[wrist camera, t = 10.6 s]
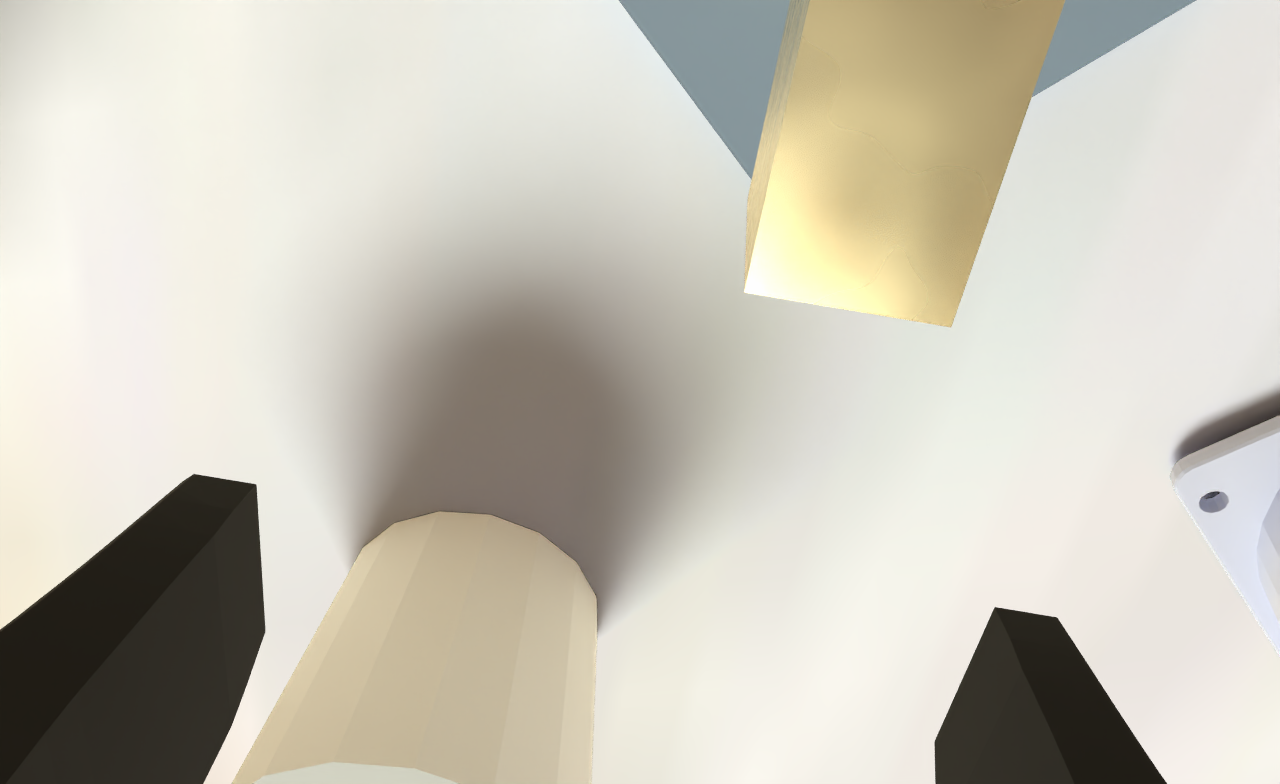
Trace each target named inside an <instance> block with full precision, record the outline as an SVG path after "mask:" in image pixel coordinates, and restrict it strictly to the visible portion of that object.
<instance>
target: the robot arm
mask: <svg viewBox="0 0 1280 784" xmlns="http://www.w3.org/2000/svg"><path fill="white" fill-rule="evenodd" d="M1170 479H1171V483H1172V486H1173V488H1174V490H1175V493H1176V495H1177V496H1178V498H1179V499H1180V501H1181V503H1182V504H1183V506H1184V507H1185V509H1186V510H1187V512H1188V514H1189V515H1190V517H1191V518H1192V520H1193V521H1194V523H1195V525H1196V526H1197V528H1198V529H1199V531H1200V532H1201V534H1202V536H1203V537H1204V539H1205V540H1206V542H1207V543H1208V545H1209V547H1210V548H1211V550H1212V551H1213V553H1214V554H1215V556H1216V558H1217V559H1218V561H1219V562H1220V564H1221V565H1222V567H1223V569H1224V570H1225V572H1226V573H1227V575H1228V576H1229V578H1230V580H1231V581H1232V583H1233V584H1234V586H1235V587H1236V589H1237V590H1238V592H1239V594H1240V595H1241V597H1242V598H1243V600H1244V601H1245V603H1246V605H1247V606H1248V608H1249V609H1250V611H1251V612H1252V614H1253V616H1254V617H1255V619H1256V620H1257V622H1258V623H1259V625H1260V627H1261V628H1262V630H1263V631H1264V633H1265V634H1266V636H1267V638H1268V639H1269V641H1270V642H1271V644H1272V645H1273V647H1274V649H1275V650H1276V652H1277V653H1278V655H1279V656H1280V415H1278V416H1276V417H1274V418H1272V419H1269V420H1267V421H1265V422H1262V423H1260V424H1258V425H1256V426H1253V427H1251V428H1249V429H1246V430H1244V431H1242V432H1239V433H1237V434H1235V435H1233V436H1230V437H1228V438H1226V439H1223V440H1221V441H1219V442H1217V443H1214V444H1212V445H1210V446H1207V447H1205V448H1203V449H1200V450H1198V451H1196V452H1194V453H1191V454H1189V455H1187V456H1185V457H1184V458H1182V459H1180V460H1179V461H1177V463H1176V464H1175V465H1174V466H1173V468H1172V469H1171V473H1170ZM1214 491H1219V492H1220V493H1219V494H1218V495H1216V496H1215V497H1213V498H1209V499H1201V498H1202V497H1203V496H1204V495H1206V494H1207V493H1210V492H1214ZM264 634H265V617H264V601H263V584H262V568H261V552H260V536H259V519H258V503H257V487H256V484H251V483H244V482H238V481H232V480H226V479H220V478H214V477H208V476H202V475H196V474H193V475H192V476H190V477H189V478H187V479H186V480H184V481H183V482H182V483H180V484H179V485H178V486H177V487H176V488H174V489H173V490H172V491H171V492H170V493H168V494H167V495H166V496H165V497H164V498H162V499H161V500H160V501H159V502H158V503H156V504H155V505H154V506H153V507H152V508H151V509H149V510H148V511H147V512H146V513H145V514H143V515H142V516H141V517H140V518H139V519H138V520H136V521H135V522H134V523H133V524H132V525H130V526H129V527H128V528H127V529H126V530H124V531H123V532H122V533H121V534H120V535H118V536H117V537H116V538H115V539H114V540H113V541H111V542H110V543H109V544H108V545H106V546H105V547H104V548H103V549H102V550H100V551H99V552H98V553H97V554H96V555H94V556H93V557H92V558H91V559H89V560H88V561H87V562H86V563H85V564H83V565H82V566H81V567H80V568H78V569H77V570H76V571H75V572H73V573H72V574H71V575H70V576H68V577H67V578H66V579H65V580H63V581H62V582H61V583H59V584H58V585H57V586H56V587H54V588H53V589H52V590H51V591H49V592H48V593H47V594H46V595H44V596H43V597H42V598H40V599H39V600H38V601H37V602H35V603H34V604H33V605H32V606H30V607H29V608H28V609H26V610H25V611H24V612H23V613H21V614H20V615H19V616H18V617H16V618H15V619H14V620H12V621H11V622H10V623H8V624H7V625H6V626H4V627H3V628H2V629H1V630H0V784H203V783H204V781H205V779H206V777H207V775H208V773H209V771H210V769H211V767H212V765H213V763H214V761H215V759H216V757H217V755H218V753H219V751H220V749H221V747H222V745H223V743H224V740H225V738H226V736H227V734H228V732H229V730H230V728H231V726H232V723H233V721H234V718H235V715H236V713H237V710H238V707H239V704H240V702H241V699H242V696H243V694H244V691H245V688H246V686H247V683H248V680H249V677H250V674H251V671H252V668H253V666H254V663H255V660H256V657H257V654H258V651H259V648H260V645H261V642H262V640H263V637H264ZM935 780H936V784H1167V783H1166V782H1165V780H1164V779H1163V777H1162V776H1161V774H1160V773H1159V772H1158V770H1157V769H1156V767H1155V766H1154V764H1153V763H1152V761H1151V760H1150V758H1149V757H1148V755H1147V754H1146V752H1145V751H1144V749H1143V748H1142V746H1141V745H1140V743H1139V742H1138V740H1137V739H1136V737H1135V736H1134V734H1133V733H1132V731H1131V730H1130V728H1129V727H1128V725H1127V724H1126V722H1125V721H1124V719H1123V718H1122V716H1121V715H1120V713H1119V712H1118V710H1117V709H1116V707H1115V705H1114V704H1113V702H1112V701H1111V699H1110V698H1109V696H1108V695H1107V693H1106V692H1105V690H1104V689H1103V687H1102V685H1101V684H1100V682H1099V681H1098V679H1097V678H1096V676H1095V675H1094V673H1093V672H1092V670H1091V668H1090V667H1089V665H1088V664H1087V662H1086V661H1085V659H1084V658H1083V656H1082V655H1081V653H1080V652H1079V650H1078V649H1077V647H1076V645H1075V644H1074V642H1073V641H1072V639H1071V638H1070V636H1069V635H1068V633H1067V632H1066V630H1065V629H1064V627H1063V626H1062V624H1061V623H1060V621H1059V620H1058V618H1057V617H1051V616H1045V615H1039V614H1033V613H1027V612H1021V611H1015V610H1009V609H1003V608H997V607H995V608H994V610H993V612H992V615H991V617H990V619H989V621H988V624H987V626H986V628H985V630H984V632H983V635H982V637H981V639H980V641H979V644H978V646H977V648H976V650H975V653H974V655H973V657H972V659H971V662H970V664H969V666H968V668H967V670H966V673H965V675H964V677H963V679H962V682H961V684H960V686H959V688H958V691H957V693H956V695H955V697H954V699H953V702H952V704H951V706H950V708H949V711H948V713H947V715H946V717H945V720H944V722H943V724H942V726H941V729H940V731H939V733H938V735H937V737H936V740H935Z"/></svg>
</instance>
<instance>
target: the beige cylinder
mask: <svg viewBox="0 0 1280 784" xmlns="http://www.w3.org/2000/svg"><path fill="white" fill-rule="evenodd" d="M596 653H597V597H596V595H595V594H594V592H593V590H592V588H591V587H590V585H589V583H588V581H587V580H586V578H585V576H584V574H583V573H582V571H581V569H580V567H579V566H578V564H577V562H576V561H574V560H573V559H572V558H571V557H569V556H568V555H567V554H566V553H564V552H563V551H562V550H560V549H559V548H558V547H557V546H555V545H554V544H553V543H552V542H550V541H549V540H548V539H546V538H545V537H544V536H543V535H541V534H540V533H538V532H536V531H533V530H530V529H528V528H525V527H522V526H520V525H517V524H514V523H512V522H509V521H506V520H504V519H501V518H498V517H495V516H493V515H488V514H473V513H457V512H442V511H438V512H434V513H431V514H427V515H423V516H419V517H415V518H412V519H408V520H404V521H400V522H396V523H393V524H392V525H391V526H390V527H388V528H387V529H386V530H385V531H383V532H382V533H381V534H380V535H378V536H377V537H376V538H374V539H373V540H372V541H371V542H369V543H368V544H367V545H366V546H364V547H363V548H362V550H361V552H360V554H359V555H358V557H357V559H356V561H355V563H354V564H353V566H352V568H351V570H350V572H349V573H348V575H347V577H346V579H345V581H344V582H343V584H342V586H341V588H340V590H339V591H338V593H337V595H336V597H335V599H334V600H333V602H332V604H331V606H330V608H329V609H328V611H327V613H326V615H325V617H324V618H323V620H322V622H321V624H320V626H319V627H318V629H317V631H316V633H315V635H314V636H313V638H312V640H311V642H310V644H309V645H308V647H307V649H306V651H305V653H304V654H303V656H302V658H301V660H300V662H299V663H298V665H297V667H296V669H295V671H294V672H293V674H292V676H291V678H290V680H289V681H288V683H287V685H286V687H285V689H284V690H283V692H282V694H281V696H280V698H279V699H278V701H277V703H276V705H275V707H274V708H273V710H272V712H271V714H270V716H269V717H268V719H267V721H266V723H265V725H264V726H263V728H262V730H261V732H260V734H259V735H258V737H257V739H256V741H255V742H254V744H253V746H252V748H251V750H250V751H249V753H248V755H247V757H246V759H245V760H244V762H243V764H242V766H241V768H240V769H239V771H238V773H237V775H236V777H235V778H234V780H233V782H232V784H591V781H592V755H593V730H594V704H595V679H596Z"/></svg>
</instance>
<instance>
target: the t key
mask: <svg viewBox="0 0 1280 784" xmlns="http://www.w3.org/2000/svg"><path fill="white" fill-rule="evenodd" d="M1064 3H1065V0H790V4H789V8H788V13H787V17H786V22H785V27H784V31H783V36H782V41H781V45H780V50H779V55H778V59H777V64H776V69H775V73H774V78H773V83H772V87H771V92H770V97H769V101H768V106H767V111H766V115H765V120H764V125H763V129H762V134H761V139H760V143H759V148H758V153H757V157H756V162H755V167H754V171H753V176H752V181H751V185H750V190H749V195H748V203H747V230H746V258H745V285H744V292H745V293H751V294H757V295H763V296H768V297H774V298H780V299H786V300H792V301H798V302H804V303H810V304H816V305H822V306H828V307H834V308H840V309H846V310H852V311H858V312H863V313H869V314H875V315H881V316H887V317H893V318H899V319H905V320H911V321H917V322H923V323H929V324H935V325H941V326H947V327H951V326H952V323H953V320H954V318H955V315H956V312H957V309H958V306H959V303H960V300H961V298H962V295H963V292H964V289H965V286H966V283H967V280H968V277H969V275H970V272H971V269H972V266H973V263H974V260H975V257H976V255H977V252H978V249H979V246H980V243H981V240H982V237H983V235H984V232H985V229H986V226H987V223H988V220H989V217H990V215H991V212H992V209H993V206H994V203H995V200H996V197H997V194H998V192H999V189H1000V186H1001V183H1002V180H1003V177H1004V174H1005V172H1006V169H1007V166H1008V163H1009V160H1010V157H1011V154H1012V152H1013V149H1014V146H1015V143H1016V140H1017V137H1018V134H1019V131H1020V129H1021V126H1022V123H1023V120H1024V117H1025V114H1026V111H1027V109H1028V106H1029V103H1030V100H1031V97H1032V94H1033V91H1034V89H1035V86H1036V83H1037V80H1038V77H1039V74H1040V71H1041V68H1042V66H1043V63H1044V60H1045V57H1046V54H1047V51H1048V48H1049V46H1050V43H1051V40H1052V37H1053V34H1054V31H1055V28H1056V26H1057V23H1058V20H1059V17H1060V14H1061V11H1062V8H1063V5H1064Z"/></svg>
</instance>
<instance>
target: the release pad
mask: <svg viewBox="0 0 1280 784" xmlns="http://www.w3.org/2000/svg"><path fill="white" fill-rule="evenodd" d="M619 1H620V3H621V4H622V5H623V7H624V8H625V9H626V11H627V12H628V14H629V15H630V16H631V18H632V19H633V20H634V22H635V23H636V24H637V26H638V27H639V28H640V30H641V31H642V32H643V34H644V35H645V36H646V38H647V39H648V41H649V42H650V43H651V45H652V46H653V47H654V49H655V50H656V51H657V53H658V54H659V55H660V57H661V58H662V59H663V61H664V62H665V63H666V65H667V66H668V68H669V69H670V70H671V72H672V73H673V74H674V76H675V77H676V78H677V80H678V81H679V82H680V84H681V85H682V86H683V88H684V89H685V91H686V92H687V93H688V95H689V96H690V97H691V99H692V100H693V101H694V103H695V104H696V105H697V107H698V108H699V109H700V111H701V112H702V113H703V115H704V116H705V118H706V119H707V120H708V122H709V123H710V124H711V126H712V127H713V128H714V130H715V131H716V132H717V134H718V135H719V136H720V138H721V139H722V140H723V142H724V143H725V145H726V146H727V147H728V149H729V150H730V151H731V153H732V154H733V155H734V157H735V158H736V159H737V161H738V162H739V163H740V165H741V166H742V168H743V169H744V170H745V172H746V173H747V174H748V176H749V177H750V178H751V180H752V176H753V171H754V167H755V162H756V157H757V153H758V148H759V143H760V139H761V134H762V129H763V125H764V120H765V115H766V111H767V106H768V101H769V97H770V92H771V87H772V83H773V78H774V73H775V69H776V64H777V59H778V55H779V50H780V45H781V41H782V36H783V31H784V27H785V22H786V17H787V13H788V8H789V4H790V0H619ZM1194 1H1196V0H1065V3H1064V5H1063V8H1062V11H1061V14H1060V17H1059V20H1058V23H1057V26H1056V28H1055V31H1054V34H1053V37H1052V40H1051V43H1050V46H1049V48H1048V51H1047V54H1046V57H1045V60H1044V63H1043V66H1042V68H1041V71H1040V74H1039V77H1038V80H1037V83H1036V86H1035V89H1034V91H1033V94H1032V97H1033V96H1035V95H1037V94H1038V93H1040V92H1042V91H1043V90H1045V89H1047V88H1048V87H1050V86H1052V85H1053V84H1055V83H1057V82H1059V81H1060V80H1062V79H1064V78H1065V77H1067V76H1069V75H1070V74H1072V73H1074V72H1075V71H1077V70H1079V69H1081V68H1082V67H1084V66H1086V65H1087V64H1089V63H1091V62H1092V61H1094V60H1096V59H1097V58H1099V57H1101V56H1103V55H1104V54H1106V53H1108V52H1109V51H1111V50H1113V49H1114V48H1116V47H1118V46H1119V45H1121V44H1123V43H1125V42H1126V41H1128V40H1130V39H1131V38H1133V37H1135V36H1136V35H1138V34H1140V33H1141V32H1143V31H1145V30H1147V29H1148V28H1150V27H1152V26H1153V25H1155V24H1157V23H1158V22H1160V21H1162V20H1163V19H1165V18H1167V17H1169V16H1170V15H1172V14H1174V13H1175V12H1177V11H1179V10H1180V9H1182V8H1184V7H1185V6H1187V5H1189V4H1191V3H1192V2H1194Z"/></svg>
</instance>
